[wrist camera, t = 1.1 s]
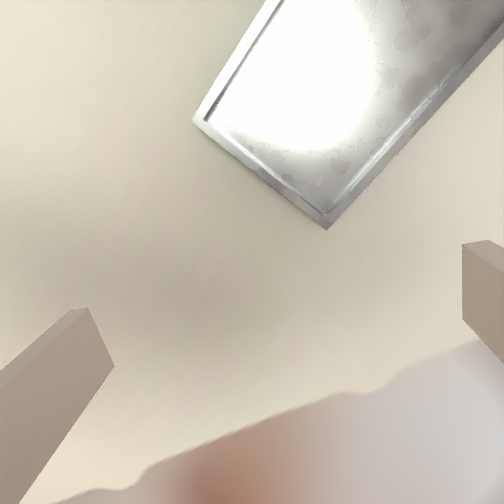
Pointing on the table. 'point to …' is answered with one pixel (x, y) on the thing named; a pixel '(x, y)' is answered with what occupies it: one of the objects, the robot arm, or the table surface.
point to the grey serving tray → (341, 89)
